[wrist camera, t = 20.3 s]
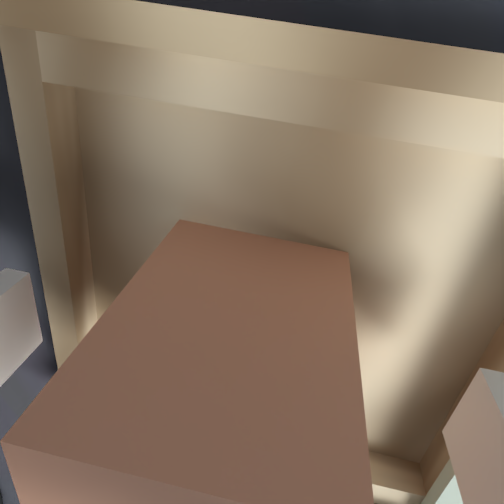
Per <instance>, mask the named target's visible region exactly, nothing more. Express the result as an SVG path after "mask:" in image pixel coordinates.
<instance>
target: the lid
mask: <svg viewBox="0 0 504 504" xmlns="http://www.w3.org/2000/svg"><path fill="white" fill-rule="evenodd" d="M421 504H463V501H462V497H461V494H460V491H459V487H458V484H457V480H456V477H455V474H454V470H453V467H452V463H451V460H450V459H449V460H448V462H447V464H446V465H445V467H444V468H443V470H442V471H441V473H440V474H439V476H438V477H437V479H436V481H435V482H434V484H433V485H432V487H431V488H430V490H429V491H428V493H427V494H426V496H425V498H424V499H423V501H422V502H421Z"/></svg>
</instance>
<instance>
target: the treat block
mask: <svg viewBox="0 0 504 504" xmlns="http://www.w3.org/2000/svg"><path fill="white" fill-rule="evenodd" d="M0 443H1V446H2V449H3V452H4V455H5V458H6V461H7V464H8V468H9V471H10V474H11V477H12V480H13V483H14V486H15V489H16V492H17V496H18V499H19V502H20V504H374V498H373V488H372V478H371V469H370V459H369V449H368V439H367V429H366V419H365V410H364V400H363V390H362V380H361V370H360V360H359V351H358V341H357V331H356V321H355V311H354V301H353V292H352V282H351V272H350V262H349V252H344V251H339V250H333V249H328V248H323V247H318V246H313V245H308V244H303V243H298V242H293V241H288V240H282V239H277V238H272V237H267V236H262V235H257V234H252V233H247V232H242V231H237V230H231V229H226V228H221V227H216V226H211V225H206V224H201V223H196V222H191V221H185V220H180V219H179V221H178V222H177V223H176V224H175V226H174V227H173V228H172V229H171V231H170V232H169V233H168V234H167V235H166V237H165V238H164V239H163V240H162V242H161V243H160V244H159V245H158V247H157V248H156V249H155V250H154V252H153V253H152V254H151V255H150V257H149V258H148V259H147V260H146V261H145V263H144V264H143V265H142V266H141V268H140V269H139V270H138V271H137V273H136V274H135V275H134V276H133V278H132V279H131V280H130V281H129V283H128V284H127V285H126V286H125V287H124V289H123V290H122V291H121V292H120V294H119V295H118V296H117V297H116V299H115V300H114V301H113V302H112V304H111V305H110V306H109V307H108V309H107V310H106V311H105V312H104V313H103V315H102V316H101V317H100V318H99V320H98V321H97V322H96V323H95V325H94V326H93V327H92V328H91V330H90V331H89V332H88V333H87V334H86V336H85V337H84V338H83V339H82V341H81V342H80V343H79V344H78V346H77V347H76V348H75V349H74V351H73V352H72V353H71V354H70V356H69V357H68V358H67V359H66V360H65V362H64V363H63V364H62V365H61V367H60V368H59V369H58V370H57V372H56V373H55V374H54V375H53V377H52V378H51V379H50V380H49V382H48V383H47V384H46V385H45V386H44V388H43V389H42V390H41V391H40V393H39V394H38V395H37V396H36V398H35V399H34V400H33V401H32V403H31V404H30V405H29V406H28V407H27V409H26V410H25V411H24V412H23V414H22V415H21V416H20V417H19V419H18V420H17V421H16V422H15V424H14V425H13V426H12V427H11V429H10V430H9V431H8V432H7V433H6V435H5V436H4V437H3V438H2V440H1V441H0Z"/></svg>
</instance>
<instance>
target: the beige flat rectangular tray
mask: <svg viewBox="0 0 504 504" xmlns="http://www.w3.org/2000/svg"><path fill="white" fill-rule="evenodd" d="M0 48H1V54H2V60H3V65H4V71H5V76H6V82H7V88H8V93H9V99H10V104H11V110H12V116H13V121H14V127H15V132H16V138H17V144H18V149H19V155H20V160H21V166H22V172H23V177H24V183H25V188H26V194H27V200H28V205H29V211H30V216H31V222H32V228H33V233H34V239H35V244H36V250H37V256H38V261H39V267H40V272H41V278H42V284H43V289H44V295H45V300H46V306H47V312H48V317H49V323H50V328H51V334H52V339H53V345H54V351H55V356H56V362H57V367H58V369H59V368H60V367H61V365H62V364H63V363H64V362H65V360H66V359H67V358H68V357H69V356H70V354H71V353H72V352H73V351H74V349H75V348H76V347H77V346H78V344H79V343H80V342H81V341H82V339H83V338H84V337H85V336H86V334H87V333H88V332H89V331H90V330H91V328H92V327H93V326H94V325H95V323H96V322H97V321H98V320H99V318H100V317H101V316H102V315H103V313H104V312H105V311H106V310H107V309H108V307H109V306H110V305H111V304H112V302H113V301H114V300H115V299H116V297H117V296H118V295H119V294H120V292H121V291H122V290H123V289H124V287H125V286H126V285H127V284H128V283H129V281H130V280H131V279H132V278H133V276H134V275H135V274H136V273H137V271H138V270H139V269H140V268H141V266H142V265H143V264H144V263H145V261H146V260H147V259H148V258H149V257H150V255H151V254H152V253H153V252H154V250H155V249H156V248H157V247H158V245H159V244H160V243H161V242H162V240H163V239H164V238H165V237H166V235H167V234H168V233H169V232H170V231H171V229H172V228H173V227H174V226H175V224H176V223H177V222H178V221H179V219H180V220H185V221H191V222H196V223H201V224H206V225H211V226H216V227H221V228H226V229H231V230H237V231H242V232H247V233H252V234H257V235H262V236H267V237H272V238H277V239H282V240H288V241H293V242H298V243H303V244H308V245H313V246H318V247H323V248H328V249H333V250H339V251H344V252H349V262H350V272H351V282H352V292H353V301H354V311H355V321H356V331H357V341H358V351H359V360H360V370H361V380H362V390H363V400H364V410H365V419H366V429H367V439H368V449H369V459H370V469H371V478H372V488H373V498H374V504H421V502H422V501H423V499H424V498H425V496H426V494H427V493H428V491H429V490H430V488H431V487H432V485H433V484H434V482H435V481H436V479H437V477H438V476H439V474H440V473H441V471H442V470H443V468H444V467H445V465H446V464H447V462H448V460H449V459H450V456H449V453H448V450H447V446H446V443H445V439H444V436H443V433H442V430H443V429H444V427H445V425H446V424H447V422H448V420H449V419H450V417H451V415H452V414H453V412H454V410H455V409H456V407H457V405H458V403H459V402H460V400H461V398H462V397H463V395H464V393H465V392H466V390H467V388H468V387H469V385H470V383H471V382H472V380H473V378H474V377H475V375H476V373H477V371H478V370H479V368H484V369H489V370H494V371H499V372H503V373H504V54H503V53H497V52H490V51H483V50H476V49H469V48H462V47H455V46H448V45H441V44H434V43H427V42H420V41H413V40H406V39H399V38H393V37H386V36H379V35H372V34H365V33H358V32H351V31H344V30H337V29H330V28H323V27H316V26H309V25H302V24H295V23H289V22H282V21H275V20H268V19H261V18H254V17H247V16H240V15H233V14H226V13H219V12H212V11H205V10H198V9H191V8H185V7H178V6H171V5H164V4H157V3H150V2H143V1H136V0H0Z"/></svg>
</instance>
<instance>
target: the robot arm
mask: <svg viewBox="0 0 504 504" xmlns="http://www.w3.org/2000/svg"><path fill="white" fill-rule="evenodd" d="M42 342H43V339H42V334H41V329H40V324H39V319H38V314H37V309H36V304H35V298H34V293H33V288H32V283H31V278H30V273H28V272H23V271H19V270H14V269H9V268H5V269H3V270H2V271H1V272H0V387H1V385H2V384H3V383H4V382H5V381H6V380H7V379H8V378H9V377H10V376H11V375H12V374H13V373H14V372H15V370H16V369H17V368H18V367H19V366H20V365H21V364H22V363H23V362H24V361H25V360H26V359H27V358H28V357H29V355H30V354H31V353H32V352H33V351H34V350H35V349H36V348H37V347H38V346H39V345H40V344H41V343H42ZM442 433H443V436H444V439H445V443H446V446H447V450H448V453H449V456H450V460H451V463H452V467H453V470H454V474H455V477H456V480H457V484H458V487H459V491H460V494H461V497H462V501H463V504H504V373H503V372H499V371H494V370H489V369H484V368H479V370H478V371H477V373H476V375H475V377H474V378H473V380H472V382H471V383H470V385H469V387H468V388H467V390H466V392H465V393H464V395H463V397H462V398H461V400H460V402H459V403H458V405H457V407H456V409H455V410H454V412H453V414H452V415H451V417H450V419H449V420H448V422H447V424H446V425H445V427H444V429H443V430H442ZM0 504H3V502H2V497H1V494H0Z"/></svg>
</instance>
